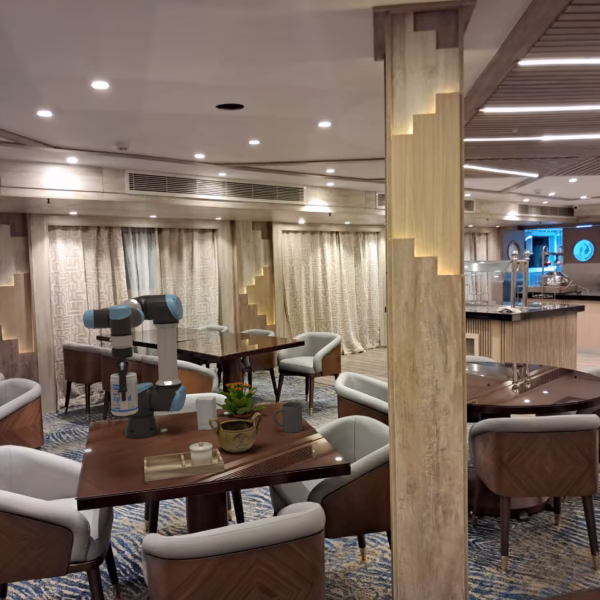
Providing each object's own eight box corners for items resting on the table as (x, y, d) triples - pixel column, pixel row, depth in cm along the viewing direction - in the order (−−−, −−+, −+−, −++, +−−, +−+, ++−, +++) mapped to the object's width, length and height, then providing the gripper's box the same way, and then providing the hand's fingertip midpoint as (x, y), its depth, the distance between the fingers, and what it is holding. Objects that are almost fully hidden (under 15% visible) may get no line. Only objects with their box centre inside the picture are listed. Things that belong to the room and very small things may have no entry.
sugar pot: (189, 463, 214) (188, 439, 213) (211, 460, 216) (210, 437, 216) (191, 471, 206) (190, 446, 205) (214, 468, 208) (213, 443, 207)
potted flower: (275, 411, 289) (273, 378, 288) (253, 424, 268) (251, 388, 267) (233, 408, 300) (232, 376, 299) (209, 419, 278) (208, 385, 277)
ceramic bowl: (215, 461, 218) (213, 424, 217) (206, 448, 233) (204, 413, 233) (269, 452, 226) (267, 416, 225) (256, 440, 242) (255, 407, 241)
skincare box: (217, 426, 265) (216, 396, 264) (213, 430, 259) (212, 399, 258) (201, 426, 267) (200, 396, 266) (196, 430, 261) (195, 399, 260)
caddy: (144, 467, 213) (144, 457, 213) (218, 458, 221) (217, 448, 221) (144, 483, 197) (144, 472, 197) (224, 473, 205) (223, 462, 204)
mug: (299, 426, 262) (298, 401, 261) (305, 431, 253) (304, 405, 252) (271, 429, 258) (270, 404, 257) (276, 435, 249) (275, 409, 248)
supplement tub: (112, 417, 200) (110, 378, 199) (110, 411, 209) (108, 373, 208) (140, 414, 204) (138, 375, 203) (137, 408, 213) (135, 370, 212)
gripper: (113, 343, 215) (116, 400, 216) (109, 351, 193) (112, 414, 195) (133, 342, 217) (136, 398, 218) (131, 350, 195) (134, 412, 197)
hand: (124, 406), depth 206 cm, fingers closed on supplement tub, 9 cm apart
